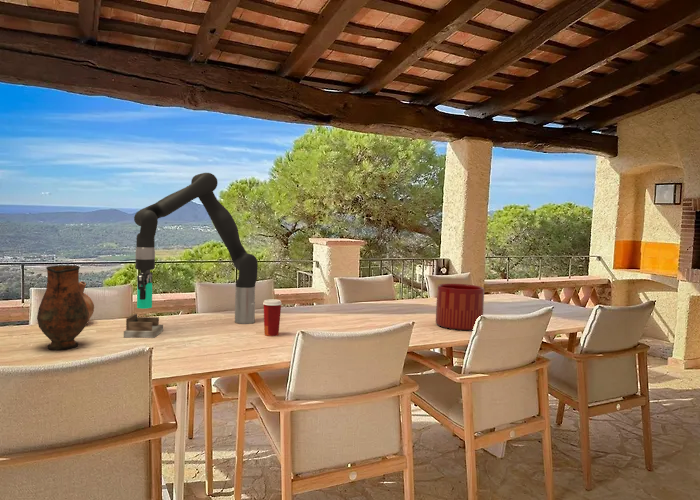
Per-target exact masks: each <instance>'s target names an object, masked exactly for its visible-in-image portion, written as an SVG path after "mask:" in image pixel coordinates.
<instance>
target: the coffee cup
mask: <svg viewBox="0 0 700 500" xmlns="http://www.w3.org/2000/svg"><path fill="white" fill-rule="evenodd" d="M282 304H283V303H282V301H281V300H280V299H275V298H274V299H273V298H271V299H270V298H269V299H264V300H263V303H262V305H263V325H264V327H263V328H264V336H266V337H278V335H279V333H280V323H281V312H282V311H281V310H282Z"/></svg>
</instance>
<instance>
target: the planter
mask: <svg viewBox="0 0 700 500" xmlns="http://www.w3.org/2000/svg"><path fill="white" fill-rule="evenodd" d="M484 300H485V287H482V286H480V285H473V284H467V283H466V284H465V283H439V284H438V285H437V289H436V304H435V305H436V307H435V324H436V325H437V326H439V327H440V326H441V327H440V328H443V327H444V328H443V329H446V328H449V329H448V330H451V329H457V330H456V331H460V330H472V329H473V326H474V324H475V321H476V319H477V318H478V317H479V316H481V315H483V316H484V306H485V305H484V304H485V301H484ZM472 331H473V330H472Z"/></svg>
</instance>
